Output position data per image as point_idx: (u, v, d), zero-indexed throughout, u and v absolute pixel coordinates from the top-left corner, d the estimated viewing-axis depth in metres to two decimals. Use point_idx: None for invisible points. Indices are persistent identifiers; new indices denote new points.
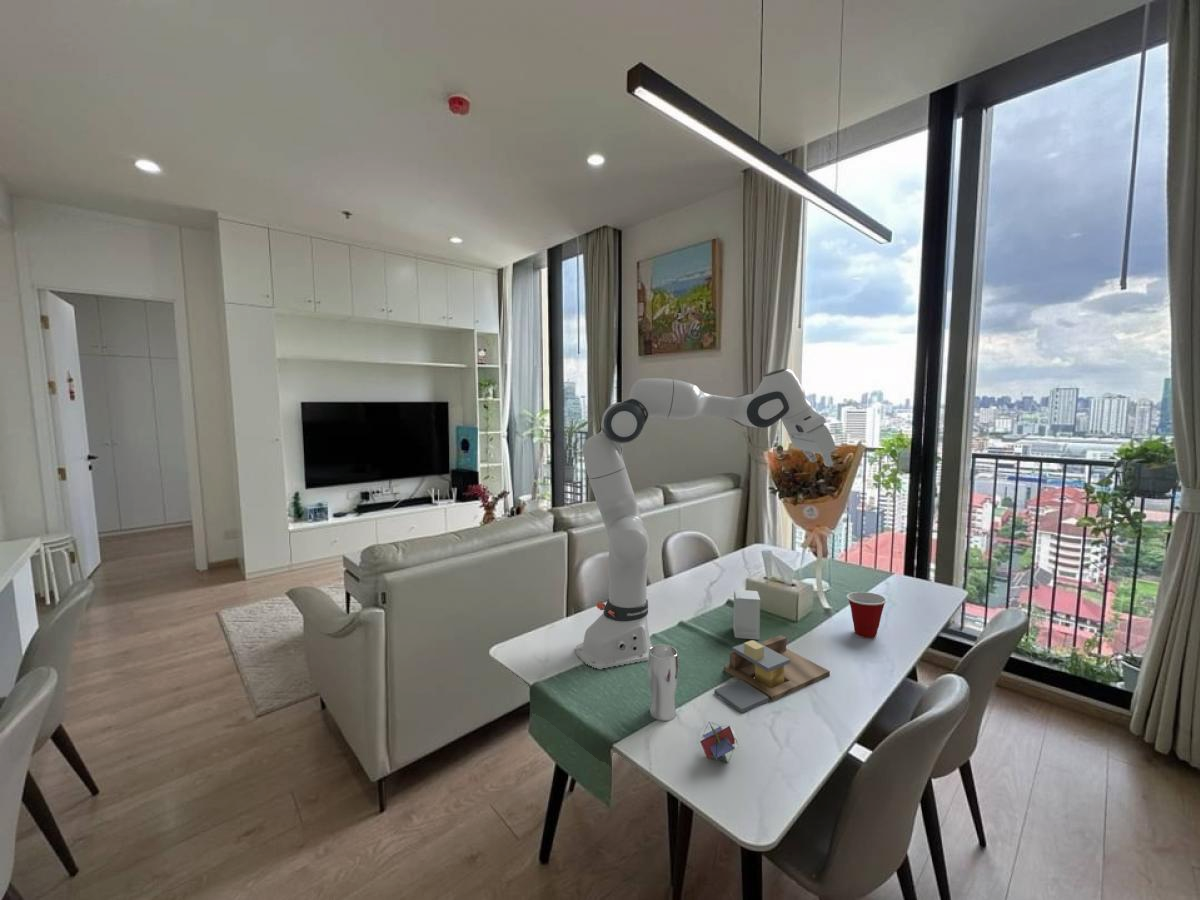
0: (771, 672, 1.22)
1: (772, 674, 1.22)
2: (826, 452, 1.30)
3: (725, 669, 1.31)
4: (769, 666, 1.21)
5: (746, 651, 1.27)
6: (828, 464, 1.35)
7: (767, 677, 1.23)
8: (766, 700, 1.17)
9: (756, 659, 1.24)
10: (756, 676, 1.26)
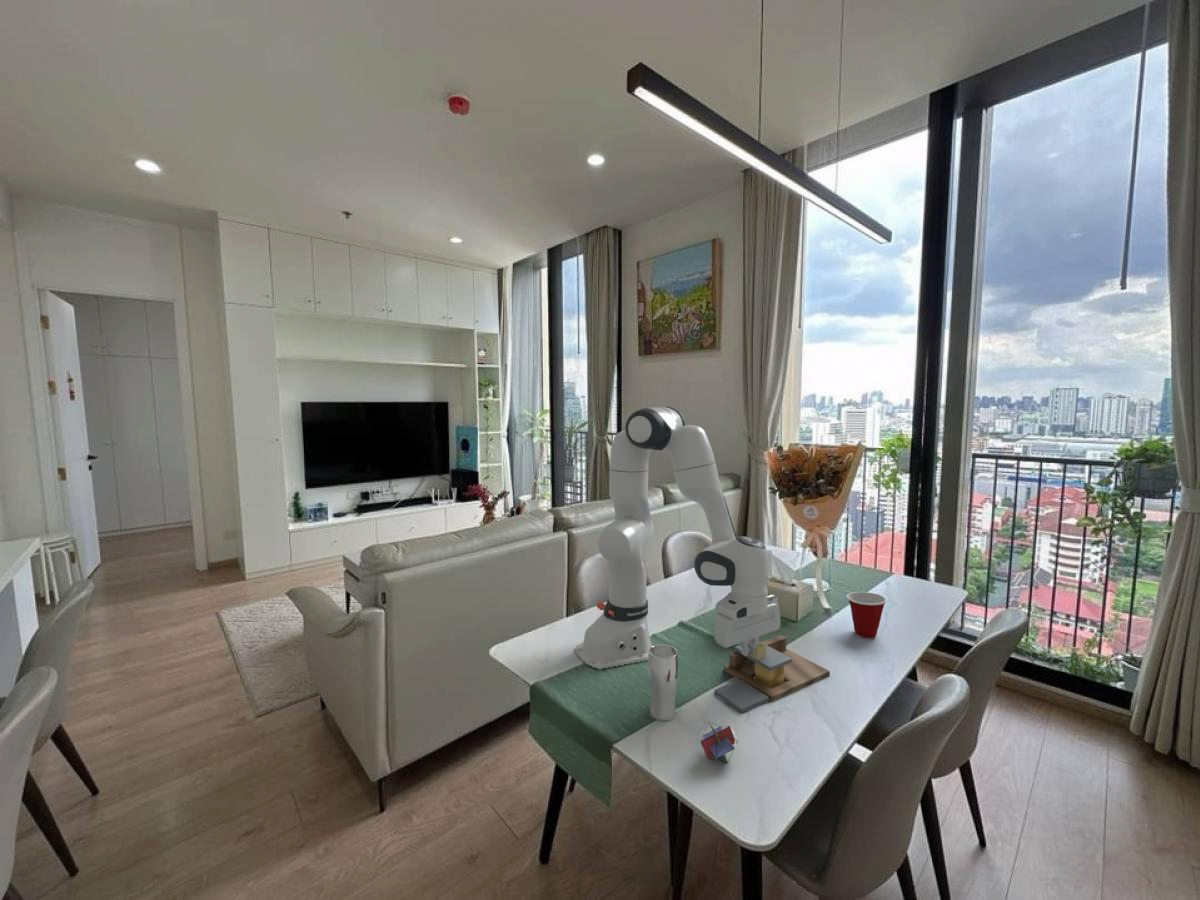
0: (771, 672, 1.22)
1: (772, 674, 1.22)
2: (716, 641, 1.21)
3: (725, 669, 1.31)
4: (771, 665, 1.22)
5: None
6: (742, 652, 1.25)
7: (767, 677, 1.23)
8: (766, 700, 1.17)
9: (758, 658, 1.24)
10: (756, 676, 1.26)
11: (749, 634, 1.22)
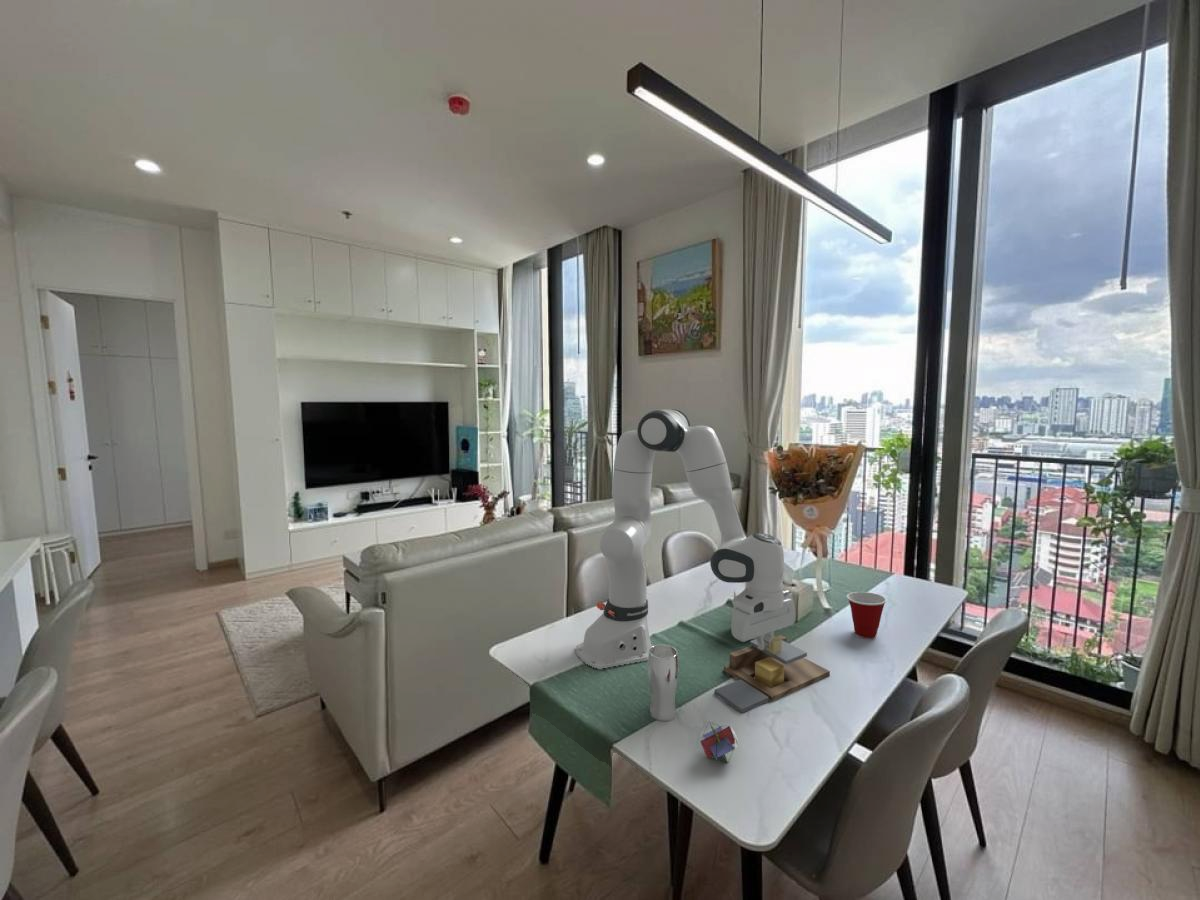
0: (771, 672, 1.22)
1: (772, 674, 1.22)
2: (733, 635, 1.24)
3: (725, 669, 1.31)
4: (787, 659, 1.24)
5: None
6: (758, 646, 1.28)
7: (767, 677, 1.23)
8: (766, 700, 1.17)
9: (774, 652, 1.27)
10: (756, 676, 1.26)
11: (765, 628, 1.25)
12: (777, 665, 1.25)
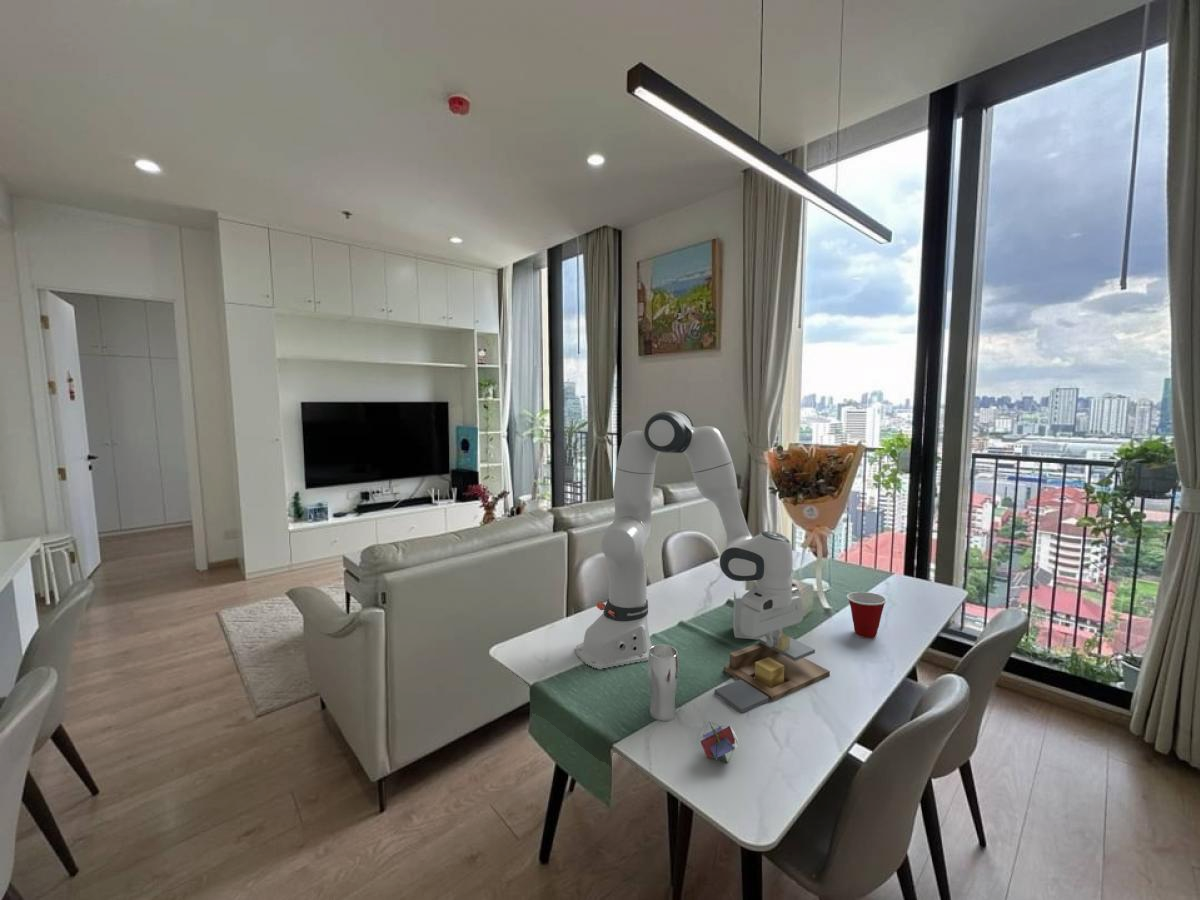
0: (771, 672, 1.22)
1: (772, 674, 1.22)
2: (742, 632, 1.25)
3: (725, 669, 1.31)
4: (795, 656, 1.26)
5: None
6: (767, 643, 1.29)
7: (767, 677, 1.23)
8: (766, 700, 1.17)
9: (782, 649, 1.29)
10: (756, 676, 1.26)
11: (774, 625, 1.27)
12: (777, 665, 1.25)
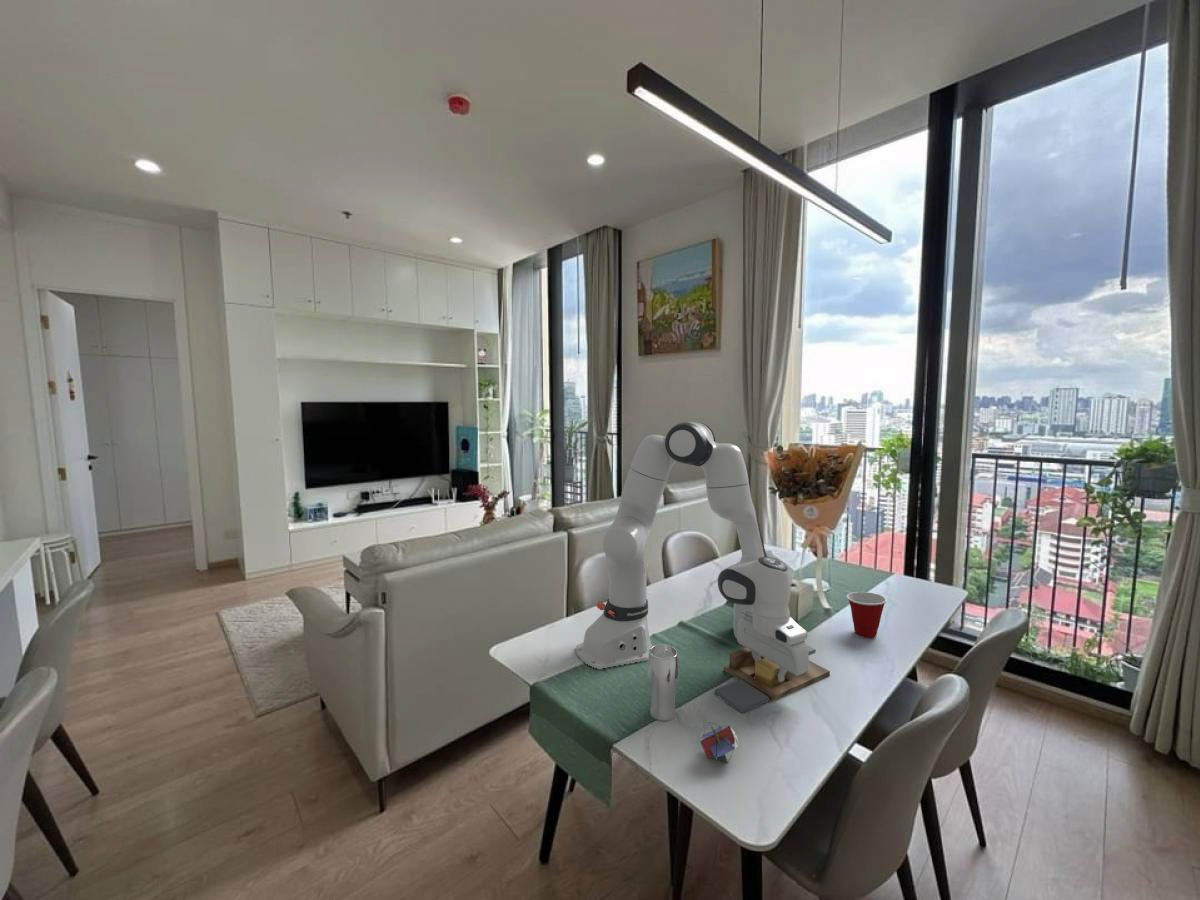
0: (771, 672, 1.22)
1: (772, 674, 1.22)
2: (800, 673, 1.16)
3: (725, 669, 1.31)
4: None
5: None
6: (780, 679, 1.22)
7: (767, 677, 1.23)
8: (766, 700, 1.17)
9: None
10: (756, 676, 1.26)
11: None
12: None
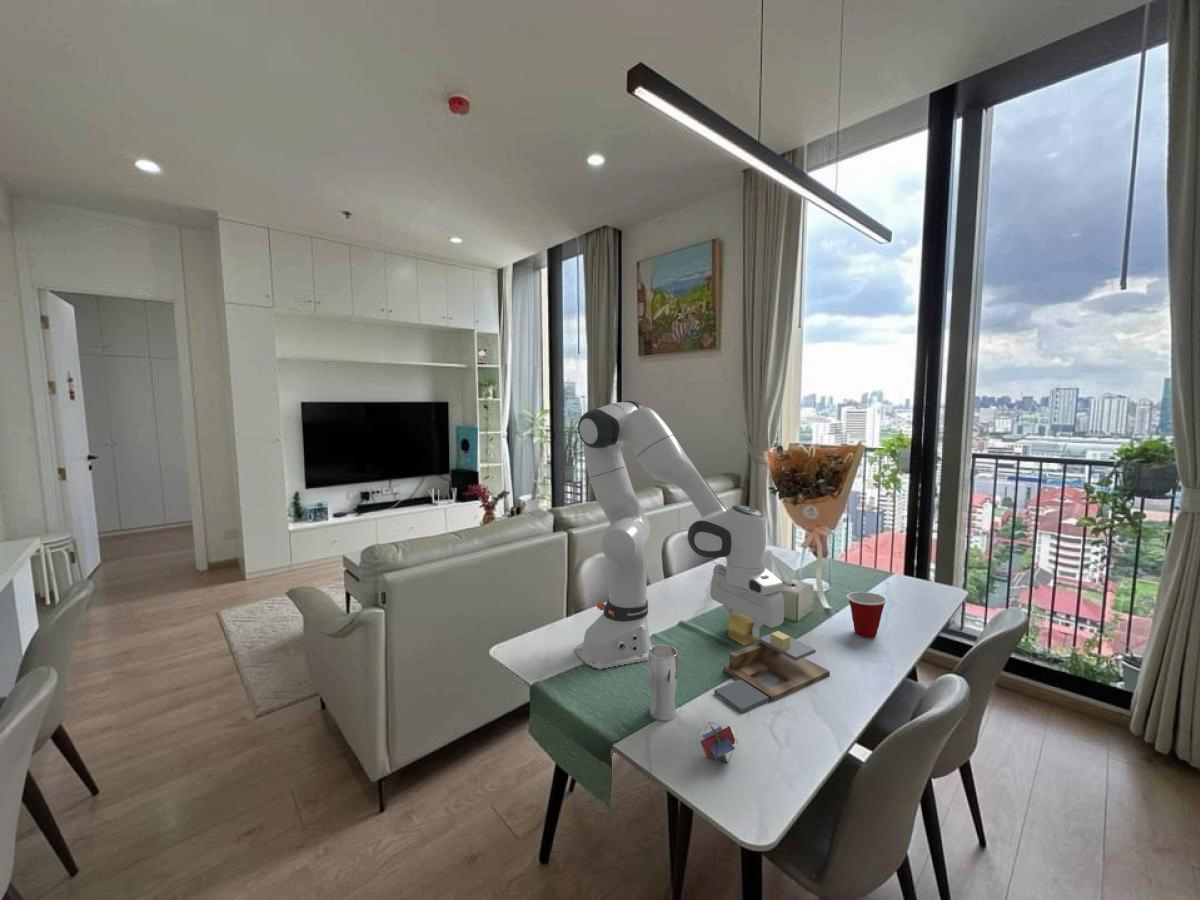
0: (745, 626, 1.15)
1: (746, 628, 1.15)
2: (774, 625, 1.09)
3: (725, 669, 1.31)
4: (796, 655, 1.26)
5: (773, 641, 1.32)
6: (755, 634, 1.15)
7: (741, 632, 1.16)
8: (766, 700, 1.17)
9: (783, 648, 1.29)
10: (730, 631, 1.19)
11: None
12: (751, 619, 1.17)
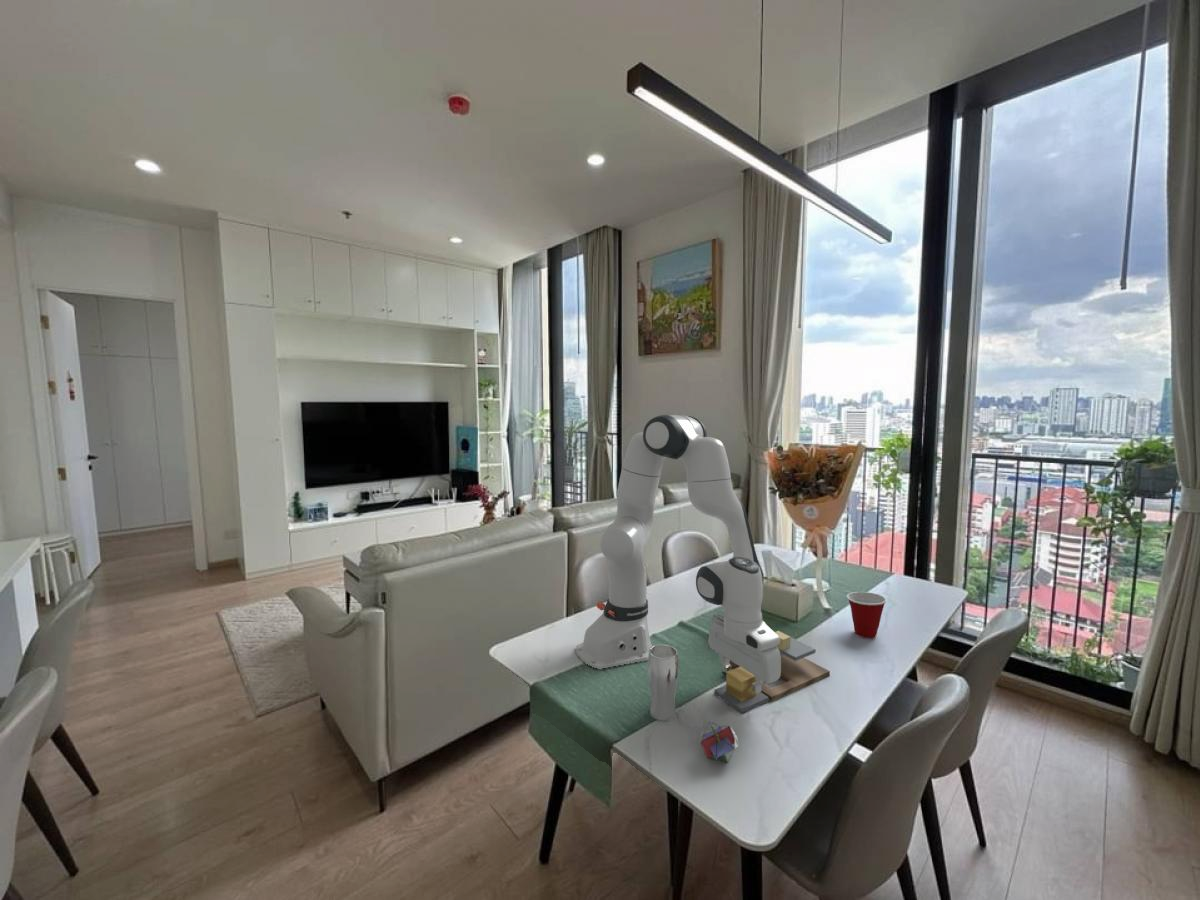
0: (742, 682, 1.16)
1: (743, 685, 1.16)
2: (771, 681, 1.09)
3: None
4: (796, 655, 1.26)
5: None
6: (757, 690, 1.14)
7: (738, 688, 1.16)
8: (766, 700, 1.17)
9: (783, 648, 1.29)
10: (727, 686, 1.20)
11: None
12: (749, 674, 1.18)
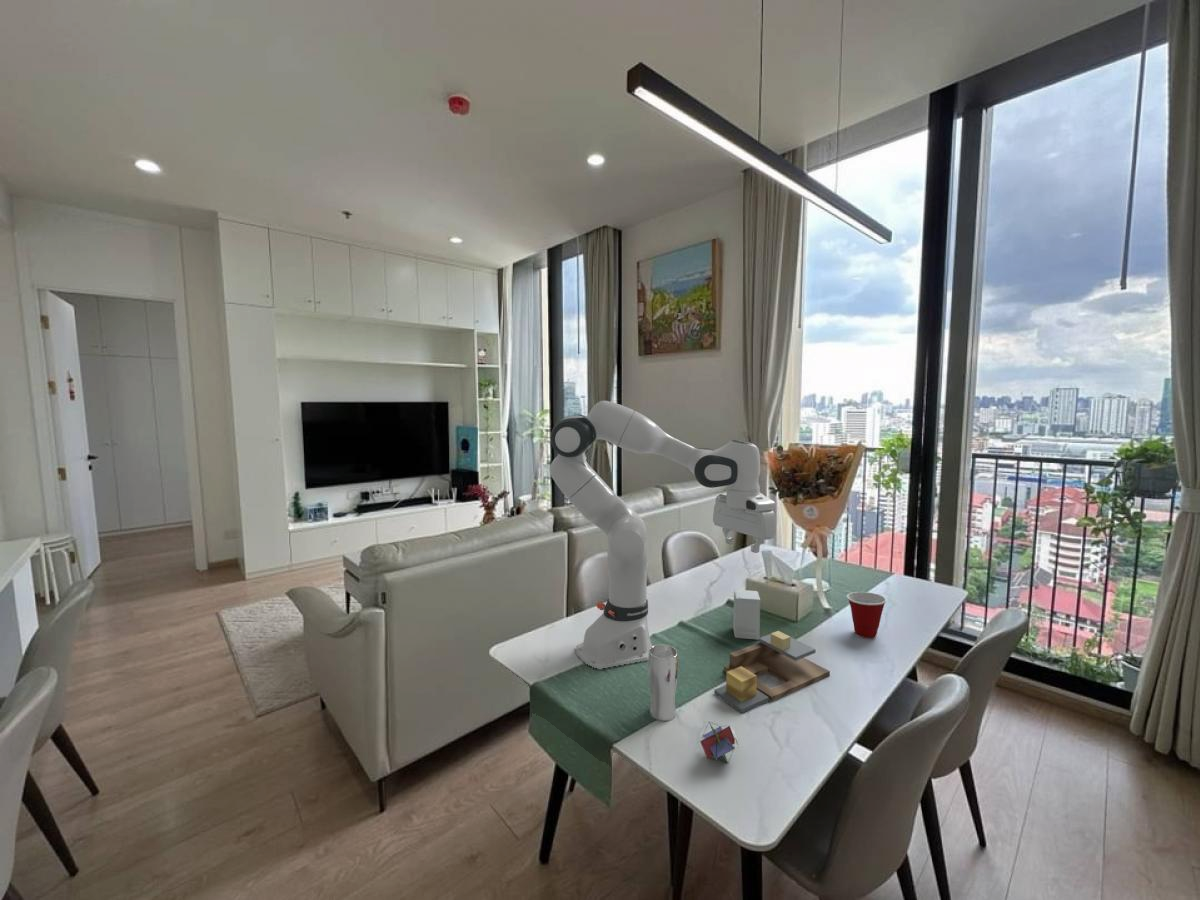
0: (742, 682, 1.16)
1: (743, 685, 1.16)
2: (767, 537, 1.27)
3: (725, 669, 1.31)
4: (796, 655, 1.26)
5: (773, 641, 1.32)
6: (756, 550, 1.32)
7: (738, 688, 1.16)
8: (766, 700, 1.17)
9: (783, 648, 1.29)
10: (727, 686, 1.20)
11: None
12: (749, 674, 1.18)
